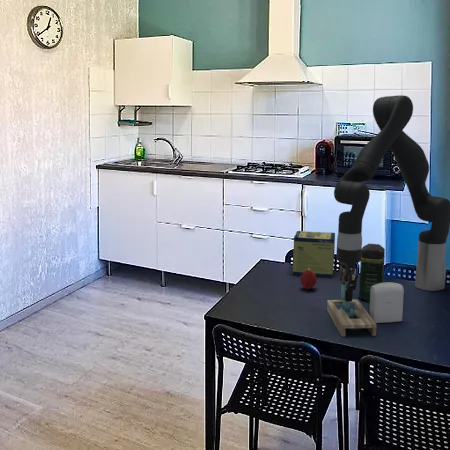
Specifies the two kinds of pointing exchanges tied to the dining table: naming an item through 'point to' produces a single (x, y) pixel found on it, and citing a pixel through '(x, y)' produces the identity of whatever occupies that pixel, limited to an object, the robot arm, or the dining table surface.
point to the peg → (346, 303)
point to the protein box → (314, 253)
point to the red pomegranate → (308, 279)
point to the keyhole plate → (345, 322)
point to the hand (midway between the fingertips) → (346, 298)
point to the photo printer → (386, 302)
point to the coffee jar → (371, 269)
